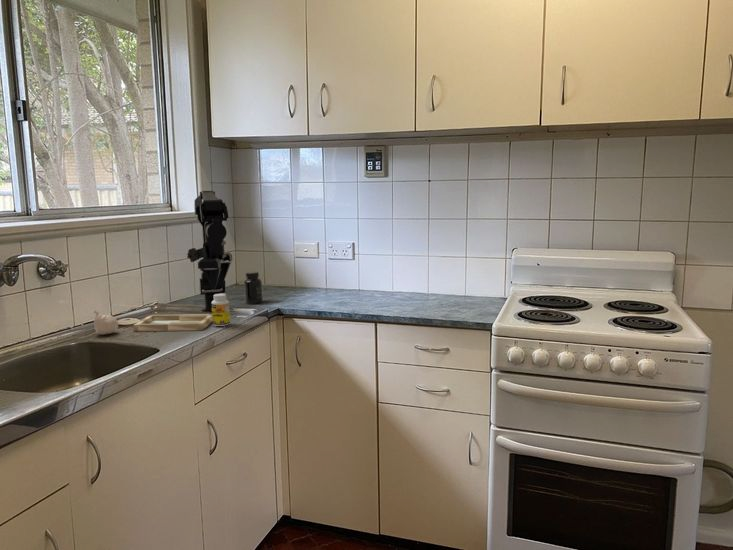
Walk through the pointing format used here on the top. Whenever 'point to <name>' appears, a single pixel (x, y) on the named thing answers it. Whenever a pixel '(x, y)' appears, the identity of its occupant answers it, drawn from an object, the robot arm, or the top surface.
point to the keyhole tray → (173, 322)
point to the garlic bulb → (105, 324)
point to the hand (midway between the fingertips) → (217, 286)
